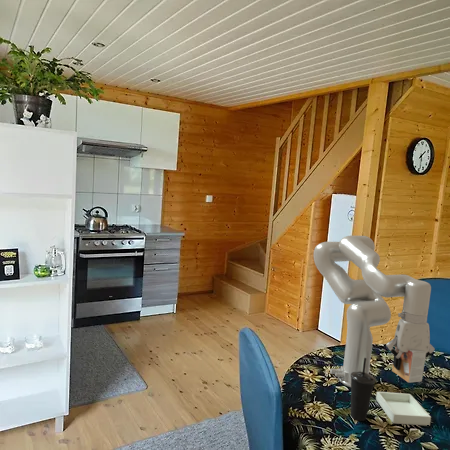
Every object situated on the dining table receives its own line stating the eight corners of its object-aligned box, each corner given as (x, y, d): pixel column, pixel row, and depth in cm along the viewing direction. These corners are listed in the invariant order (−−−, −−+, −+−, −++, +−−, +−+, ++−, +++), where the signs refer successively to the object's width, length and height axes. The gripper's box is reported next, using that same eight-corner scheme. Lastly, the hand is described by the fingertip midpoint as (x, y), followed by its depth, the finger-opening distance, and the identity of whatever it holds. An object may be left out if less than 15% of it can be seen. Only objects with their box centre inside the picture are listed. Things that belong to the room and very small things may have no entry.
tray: (393, 423, 128) (394, 414, 128) (376, 399, 142) (377, 391, 142) (429, 425, 128) (431, 416, 128) (409, 401, 142) (410, 393, 142)
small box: (391, 371, 137) (395, 342, 135) (404, 370, 138) (408, 341, 137) (408, 383, 129) (412, 352, 128) (422, 381, 131) (426, 351, 130)
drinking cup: (351, 407, 136) (358, 351, 134) (373, 416, 131) (381, 358, 129) (342, 416, 130) (349, 357, 128) (365, 426, 125) (373, 366, 123)
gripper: (393, 319, 128) (386, 372, 130) (446, 323, 128) (439, 376, 130) (383, 312, 135) (377, 362, 137) (433, 315, 136) (427, 365, 137)
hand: (407, 368), depth 133 cm, fingers closed on small box, 6 cm apart
